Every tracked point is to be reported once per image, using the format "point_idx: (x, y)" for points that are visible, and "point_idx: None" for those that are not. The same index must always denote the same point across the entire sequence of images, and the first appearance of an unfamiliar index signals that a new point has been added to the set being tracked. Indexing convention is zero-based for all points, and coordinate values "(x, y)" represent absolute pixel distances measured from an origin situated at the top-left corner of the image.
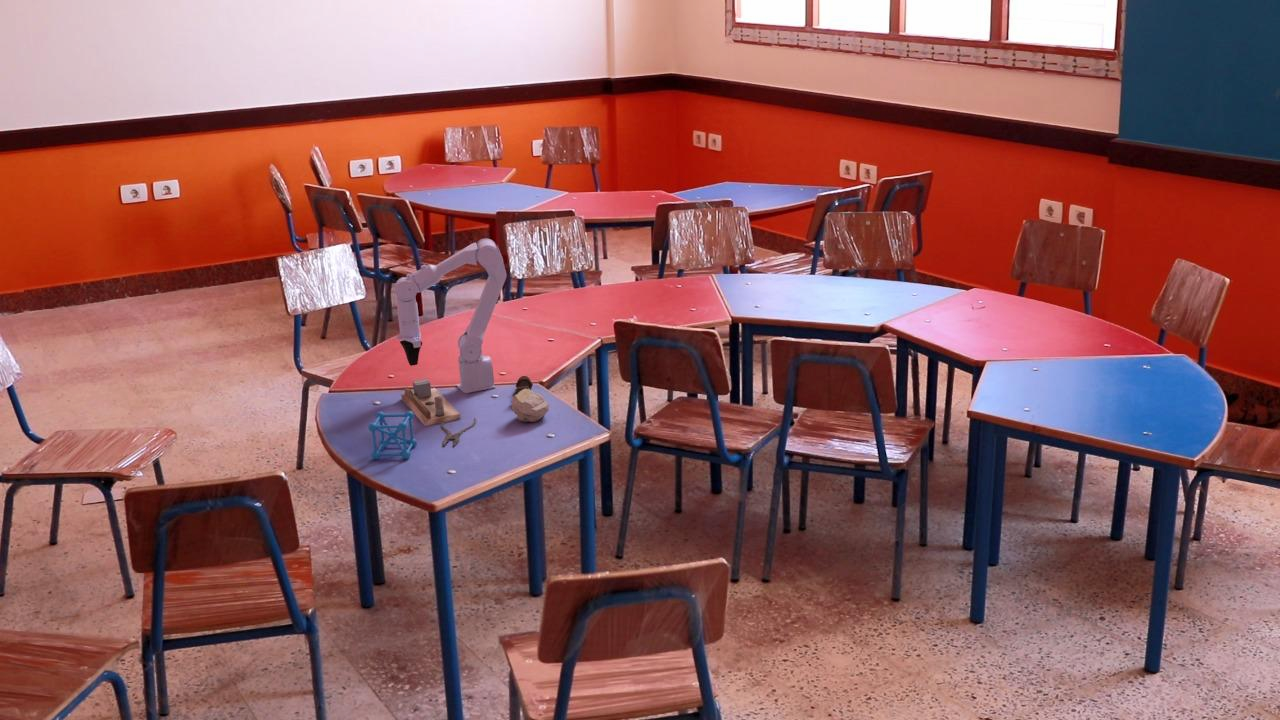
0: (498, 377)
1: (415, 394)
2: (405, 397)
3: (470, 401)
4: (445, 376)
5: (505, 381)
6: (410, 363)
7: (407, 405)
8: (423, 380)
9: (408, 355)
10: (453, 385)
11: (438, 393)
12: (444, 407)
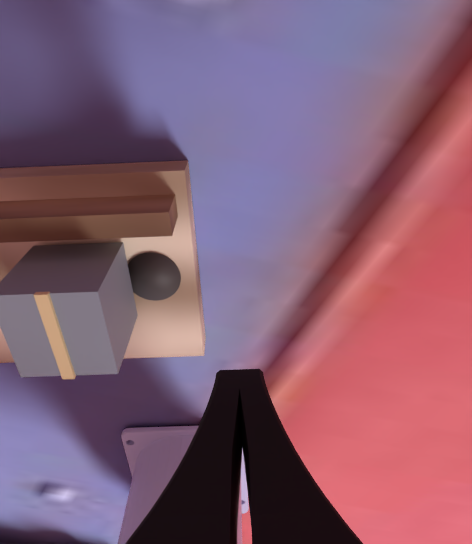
0: None
1: (81, 248)
2: (102, 182)
3: (22, 424)
4: (401, 412)
5: None
6: (214, 388)
7: (46, 166)
8: (84, 354)
9: (180, 463)
10: None
11: None
12: None
